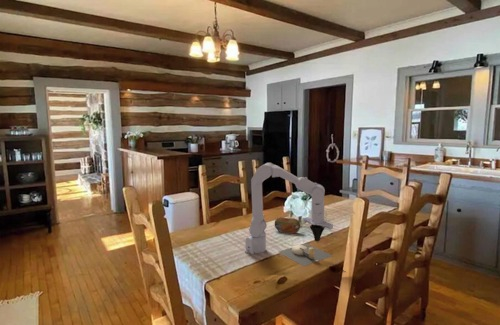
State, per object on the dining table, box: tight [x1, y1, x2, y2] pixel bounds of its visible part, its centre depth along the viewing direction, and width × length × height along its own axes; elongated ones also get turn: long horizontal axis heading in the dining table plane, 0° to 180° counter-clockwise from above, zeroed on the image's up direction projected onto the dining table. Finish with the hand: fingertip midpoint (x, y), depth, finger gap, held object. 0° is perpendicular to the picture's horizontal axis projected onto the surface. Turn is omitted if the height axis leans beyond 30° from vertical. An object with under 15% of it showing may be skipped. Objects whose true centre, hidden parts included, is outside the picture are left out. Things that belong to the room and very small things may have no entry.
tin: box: [274, 216, 301, 234], centre depth 174 cm, size 15×3×8 cm, turn 62°
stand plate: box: [278, 243, 333, 267], centre depth 141 cm, size 18×18×2 cm
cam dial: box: [291, 244, 314, 259], centre depth 140 cm, size 13×7×5 cm, turn 29°
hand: (317, 240), depth 138 cm, fingers closed
